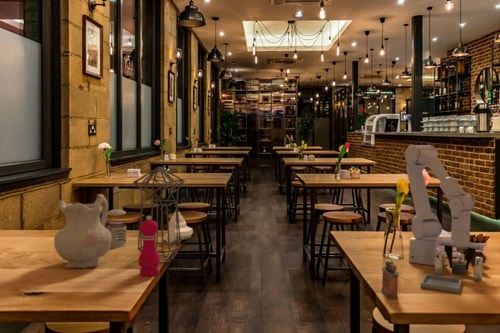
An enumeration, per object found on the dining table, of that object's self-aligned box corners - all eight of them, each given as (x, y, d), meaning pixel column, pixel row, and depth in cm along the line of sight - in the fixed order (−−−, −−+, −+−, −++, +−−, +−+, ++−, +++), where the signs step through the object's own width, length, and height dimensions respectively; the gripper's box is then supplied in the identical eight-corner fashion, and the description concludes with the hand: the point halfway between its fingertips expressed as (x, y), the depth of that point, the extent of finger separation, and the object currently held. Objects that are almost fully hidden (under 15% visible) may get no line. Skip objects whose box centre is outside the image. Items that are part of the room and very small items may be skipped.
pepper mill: (164, 272, 159) (163, 214, 157) (153, 278, 152) (152, 218, 150) (145, 269, 161) (145, 213, 160) (134, 275, 154) (133, 216, 153)
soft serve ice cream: (156, 245, 201) (152, 213, 203) (179, 242, 213) (175, 212, 215) (176, 242, 194) (172, 209, 196) (200, 239, 206) (195, 207, 208)
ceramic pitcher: (80, 256, 181) (74, 193, 179) (126, 256, 177) (120, 191, 175) (45, 273, 160) (38, 202, 158) (96, 273, 156) (89, 200, 154)
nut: (451, 274, 158) (451, 263, 158) (452, 270, 163) (452, 260, 163) (465, 276, 156) (465, 265, 156) (466, 272, 161) (466, 261, 161)
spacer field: (434, 275, 157) (434, 260, 157) (439, 264, 170) (439, 251, 170) (481, 281, 150) (482, 266, 150) (482, 270, 164) (483, 256, 163)
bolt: (466, 259, 184) (479, 269, 169) (455, 252, 185) (467, 262, 170) (474, 247, 183) (488, 256, 169) (463, 240, 184) (476, 248, 169)
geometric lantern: (131, 263, 169) (129, 168, 166) (151, 252, 184) (150, 165, 181) (170, 267, 164) (169, 169, 162) (188, 255, 179) (187, 166, 177)
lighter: (379, 290, 142) (380, 258, 141) (389, 290, 142) (390, 258, 141) (389, 300, 134) (390, 266, 133) (400, 299, 134) (401, 266, 133)
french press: (133, 244, 198) (133, 186, 196) (112, 249, 188) (111, 188, 186) (117, 241, 203) (117, 184, 201) (96, 246, 193) (95, 187, 191)
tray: (420, 287, 144) (420, 283, 144) (425, 278, 154) (425, 273, 154) (459, 293, 139) (459, 288, 139) (461, 283, 149) (461, 278, 149)
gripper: (436, 229, 158) (435, 268, 159) (484, 234, 152) (482, 274, 153) (438, 225, 165) (437, 263, 166) (484, 230, 158) (482, 269, 159)
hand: (459, 268), depth 160 cm, fingers closed on nut, 4 cm apart
